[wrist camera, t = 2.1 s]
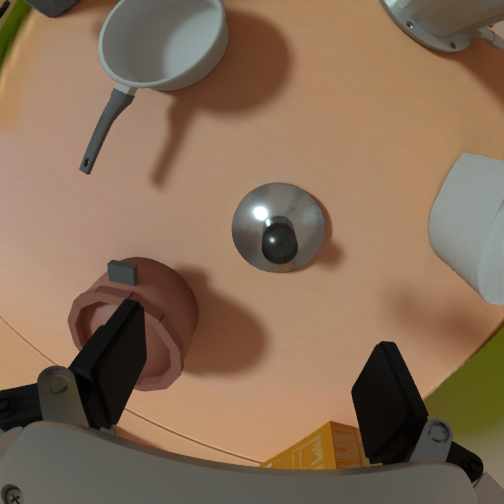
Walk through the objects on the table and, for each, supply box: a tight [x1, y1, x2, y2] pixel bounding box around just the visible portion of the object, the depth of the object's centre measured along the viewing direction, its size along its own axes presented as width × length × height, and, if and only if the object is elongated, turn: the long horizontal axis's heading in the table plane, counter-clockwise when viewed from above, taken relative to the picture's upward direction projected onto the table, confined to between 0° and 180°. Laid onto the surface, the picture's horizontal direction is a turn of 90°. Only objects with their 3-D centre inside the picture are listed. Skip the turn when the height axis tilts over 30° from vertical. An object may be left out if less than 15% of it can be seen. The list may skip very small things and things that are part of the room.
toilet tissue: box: [429, 152, 504, 305], centre depth 21 cm, size 11×12×10 cm
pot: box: [68, 257, 198, 391], centre depth 29 cm, size 13×17×8 cm
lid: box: [232, 183, 325, 273], centre depth 26 cm, size 9×9×6 cm
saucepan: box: [79, 0, 229, 174], centre depth 20 cm, size 12×20×6 cm, turn 149°
